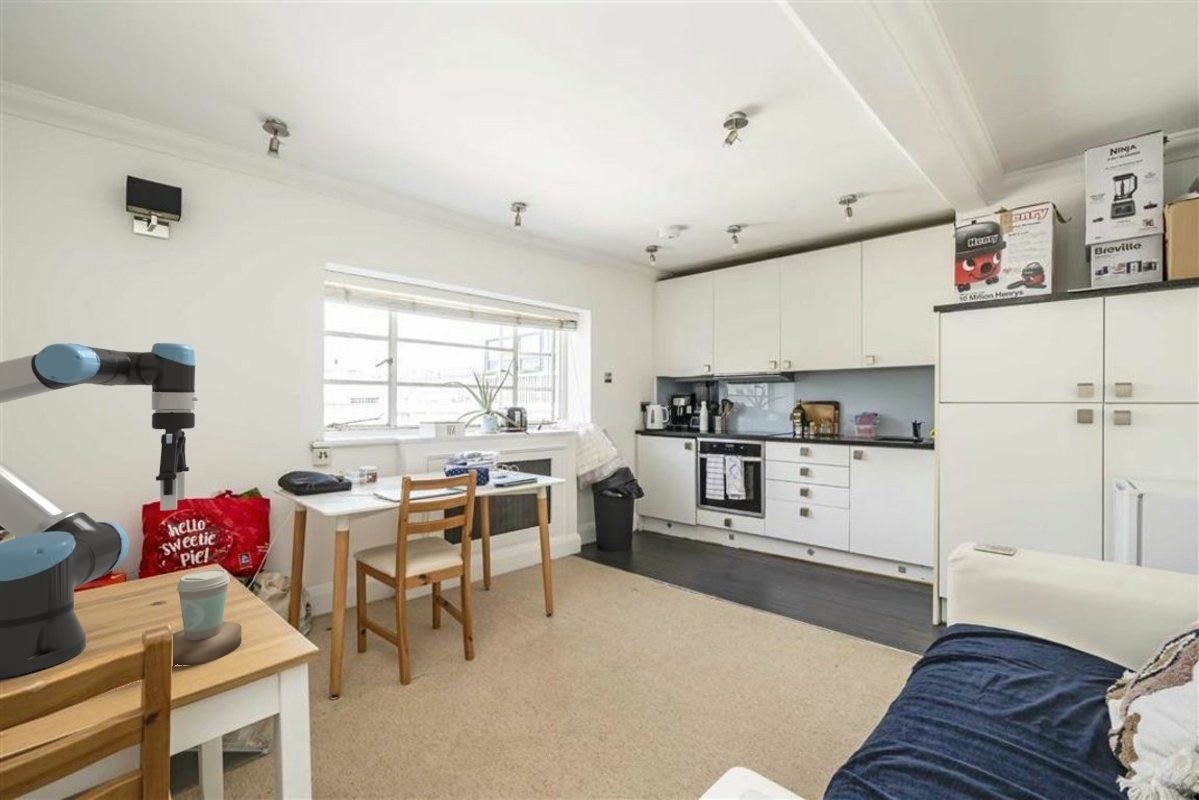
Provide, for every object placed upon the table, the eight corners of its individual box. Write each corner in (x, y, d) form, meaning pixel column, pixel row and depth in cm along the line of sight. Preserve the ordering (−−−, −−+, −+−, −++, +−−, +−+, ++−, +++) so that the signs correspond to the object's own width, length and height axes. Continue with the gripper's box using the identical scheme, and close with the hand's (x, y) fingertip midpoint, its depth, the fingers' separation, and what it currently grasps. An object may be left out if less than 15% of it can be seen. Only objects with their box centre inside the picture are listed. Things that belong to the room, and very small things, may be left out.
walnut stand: (145, 671, 94) (145, 655, 94) (178, 640, 107) (178, 626, 107) (227, 660, 99) (228, 645, 99) (250, 632, 111) (250, 618, 111)
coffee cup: (171, 635, 103) (171, 575, 103) (222, 621, 109) (222, 565, 109) (182, 648, 97) (182, 585, 97) (235, 632, 104) (235, 574, 104)
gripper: (188, 412, 108) (187, 512, 108) (200, 410, 129) (199, 494, 129) (141, 412, 104) (140, 516, 104) (161, 410, 125) (161, 497, 124)
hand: (173, 504), depth 116 cm, fingers open, 13 cm apart
